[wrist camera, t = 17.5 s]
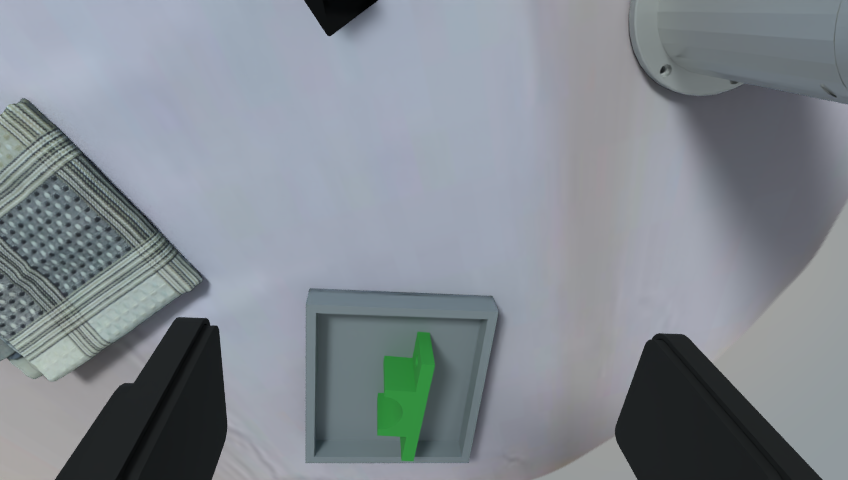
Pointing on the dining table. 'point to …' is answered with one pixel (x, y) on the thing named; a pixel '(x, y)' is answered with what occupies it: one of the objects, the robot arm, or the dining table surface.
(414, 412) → the pipe clamp
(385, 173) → the dining table surface
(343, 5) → the black block
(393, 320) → the tray
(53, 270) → the dish towel
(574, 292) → the dining table surface
